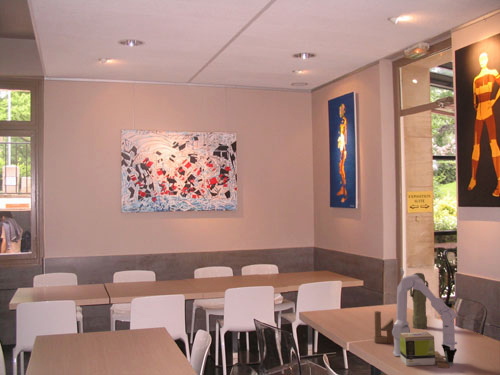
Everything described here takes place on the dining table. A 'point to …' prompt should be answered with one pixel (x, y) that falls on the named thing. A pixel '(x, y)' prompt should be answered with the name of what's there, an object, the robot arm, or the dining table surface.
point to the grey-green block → (445, 358)
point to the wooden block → (386, 327)
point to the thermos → (419, 306)
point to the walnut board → (440, 361)
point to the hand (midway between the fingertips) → (449, 360)
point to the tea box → (417, 348)
